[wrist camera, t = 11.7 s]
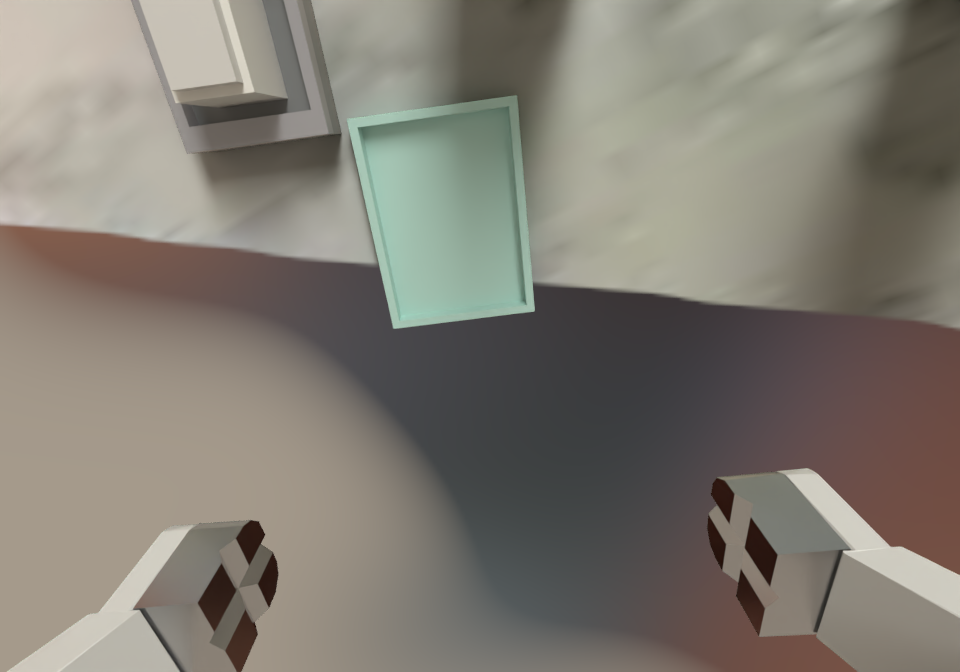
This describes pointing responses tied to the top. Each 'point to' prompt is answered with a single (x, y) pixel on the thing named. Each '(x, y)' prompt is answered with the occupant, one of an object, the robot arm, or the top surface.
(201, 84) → the plug
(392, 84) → the top surface
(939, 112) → the top surface
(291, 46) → the grey compartment holder
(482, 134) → the tray
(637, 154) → the top surface
